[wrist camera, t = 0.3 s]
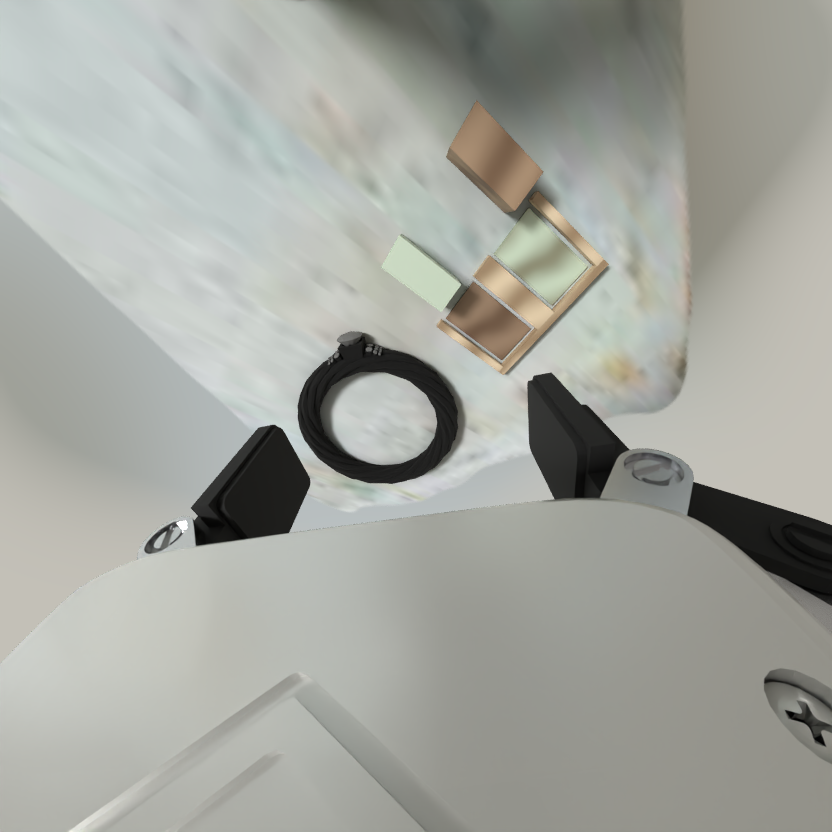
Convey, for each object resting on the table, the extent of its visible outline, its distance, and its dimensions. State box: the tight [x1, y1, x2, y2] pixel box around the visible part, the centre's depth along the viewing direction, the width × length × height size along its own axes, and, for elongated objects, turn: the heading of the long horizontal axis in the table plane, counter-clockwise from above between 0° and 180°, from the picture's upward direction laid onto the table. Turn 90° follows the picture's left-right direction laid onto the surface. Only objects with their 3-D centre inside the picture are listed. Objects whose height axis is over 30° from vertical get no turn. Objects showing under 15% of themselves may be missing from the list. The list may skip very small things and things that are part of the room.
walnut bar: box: [446, 100, 543, 213], centre depth 32 cm, size 9×4×5 cm, turn 55°
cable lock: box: [298, 332, 458, 484], centre depth 51 cm, size 28×4×30 cm
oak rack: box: [437, 191, 609, 375], centre depth 40 cm, size 13×19×1 cm
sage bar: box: [381, 234, 461, 312], centre depth 38 cm, size 9×4×5 cm, turn 55°
